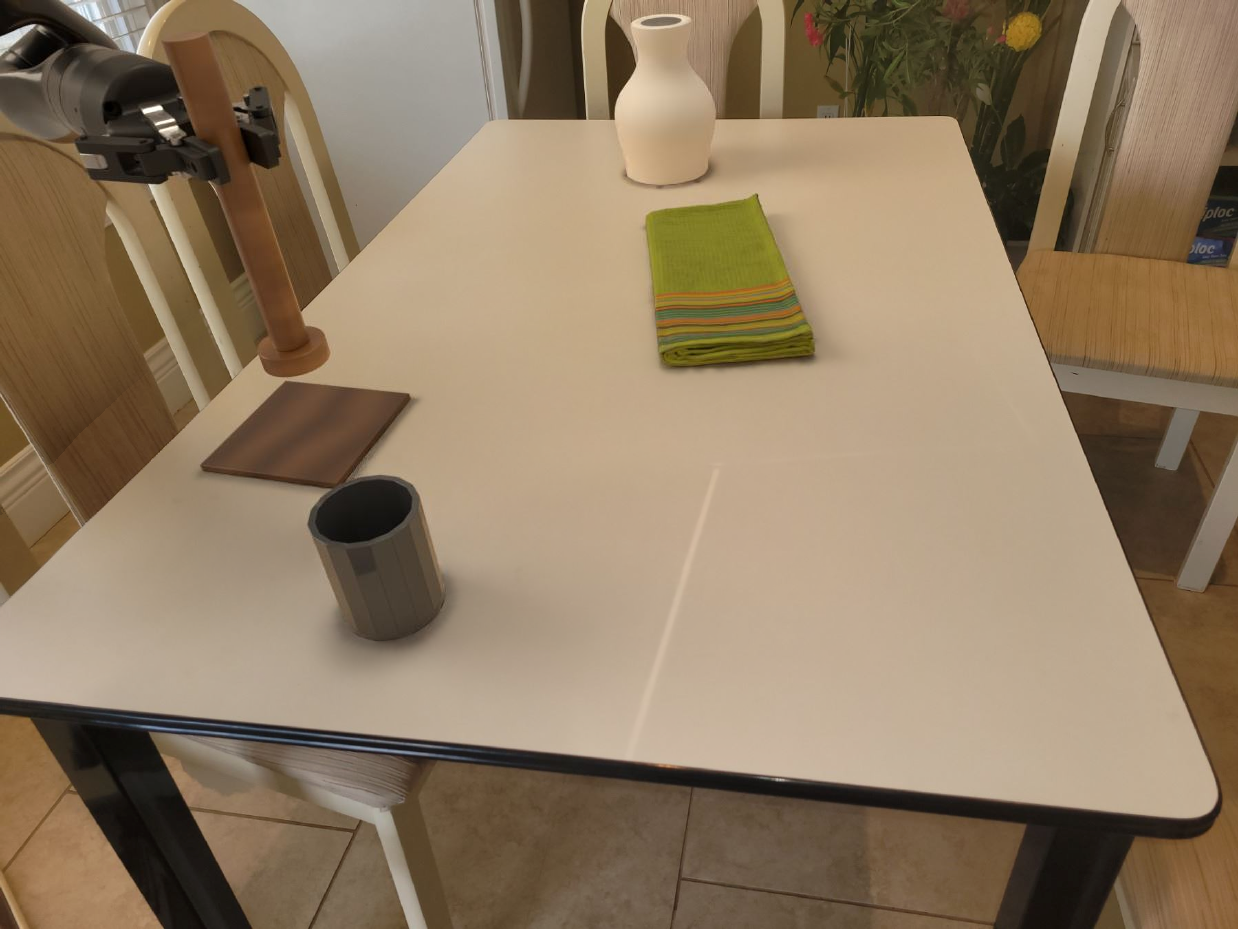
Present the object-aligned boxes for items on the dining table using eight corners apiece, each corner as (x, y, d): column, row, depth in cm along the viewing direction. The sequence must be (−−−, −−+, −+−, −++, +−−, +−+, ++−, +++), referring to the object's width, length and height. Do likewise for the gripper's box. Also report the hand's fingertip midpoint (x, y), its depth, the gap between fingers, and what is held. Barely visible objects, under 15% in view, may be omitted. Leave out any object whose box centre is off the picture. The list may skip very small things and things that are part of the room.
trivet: (201, 470, 80) (199, 465, 80) (287, 385, 90) (285, 380, 90) (338, 489, 76) (336, 483, 76) (411, 398, 87) (409, 393, 86)
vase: (696, 146, 137) (694, 2, 124) (730, 177, 126) (731, 23, 113) (607, 161, 134) (595, 16, 122) (633, 194, 123) (623, 39, 111)
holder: (324, 631, 64) (286, 539, 58) (373, 559, 69) (343, 469, 64) (417, 648, 62) (387, 555, 56) (460, 573, 67) (437, 481, 62)
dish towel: (660, 371, 87) (658, 342, 85) (643, 223, 115) (642, 199, 113) (817, 359, 87) (819, 330, 85) (762, 213, 115) (762, 189, 113)
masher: (250, 374, 64) (122, 46, 50) (287, 340, 68) (176, 25, 54) (308, 380, 63) (193, 46, 49) (342, 345, 66) (244, 24, 53)
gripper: (6, 80, 58) (103, 129, 48) (209, 31, 65) (330, 65, 55) (59, 192, 63) (158, 257, 53) (243, 135, 70) (361, 183, 60)
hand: (246, 158), depth 54 cm, fingers closed on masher, 2 cm apart
